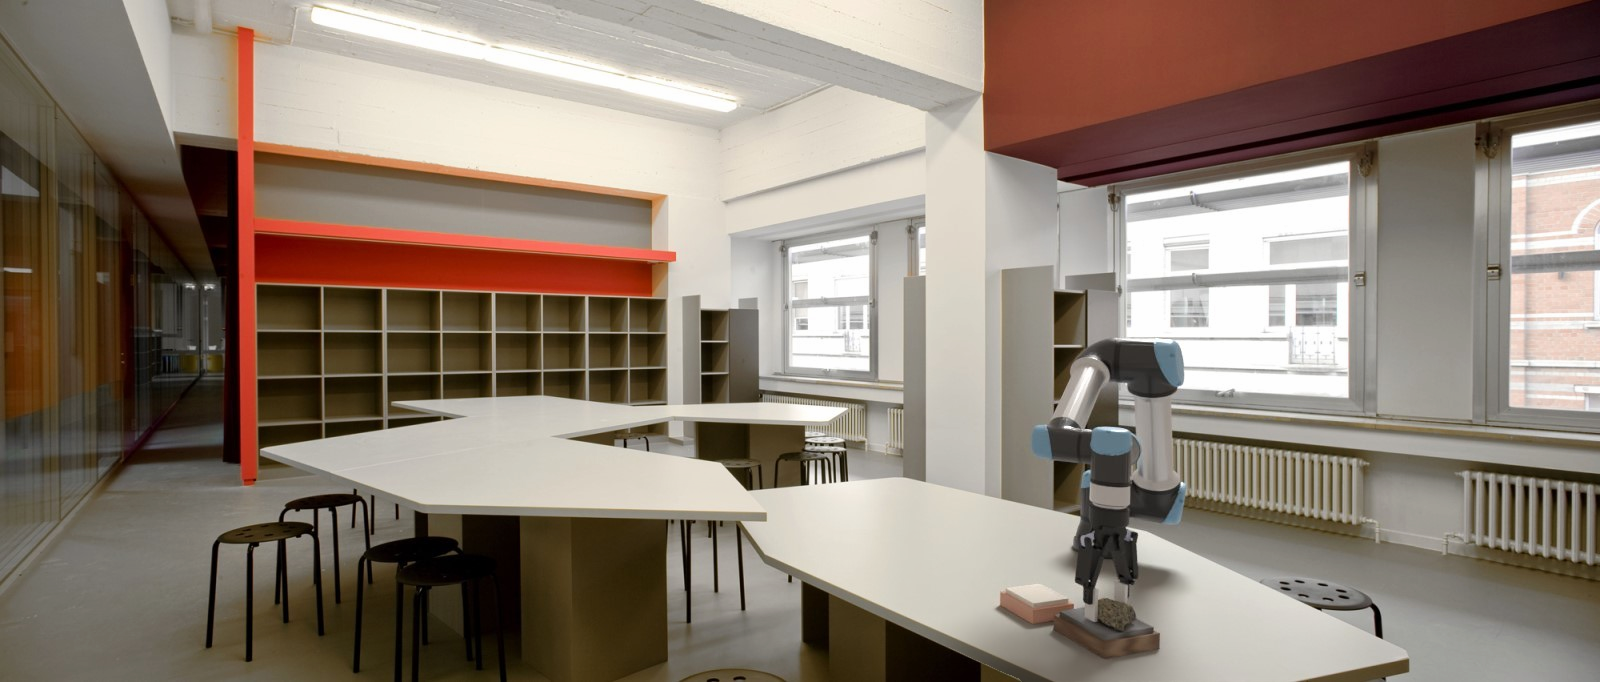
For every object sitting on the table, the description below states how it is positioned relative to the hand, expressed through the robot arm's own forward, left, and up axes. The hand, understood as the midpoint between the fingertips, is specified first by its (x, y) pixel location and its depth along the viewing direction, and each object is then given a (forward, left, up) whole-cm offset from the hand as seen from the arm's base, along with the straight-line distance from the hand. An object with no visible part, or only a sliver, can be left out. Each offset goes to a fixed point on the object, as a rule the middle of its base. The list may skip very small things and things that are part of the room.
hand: (1105, 616), depth 144 cm
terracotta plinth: (+4, -16, -4) cm, 17 cm away
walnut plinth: (0, 0, -4) cm, 4 cm away
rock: (0, +2, 0) cm, 2 cm away
